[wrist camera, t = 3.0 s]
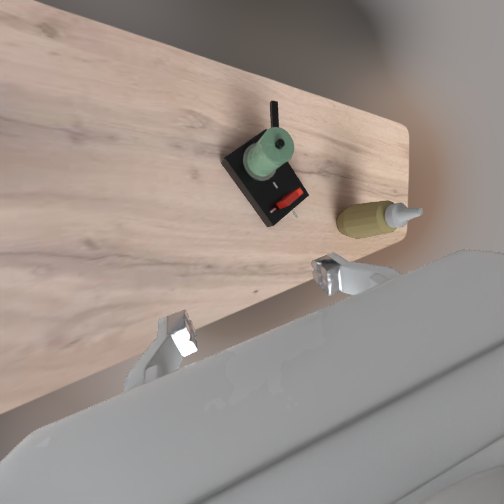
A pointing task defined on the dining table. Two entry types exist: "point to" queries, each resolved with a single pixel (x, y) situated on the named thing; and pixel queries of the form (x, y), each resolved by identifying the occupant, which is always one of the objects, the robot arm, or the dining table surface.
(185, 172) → the dining table surface
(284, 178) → the hob
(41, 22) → the dining table surface
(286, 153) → the saucepan
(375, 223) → the squeeze bottle
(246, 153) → the burner
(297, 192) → the knob
